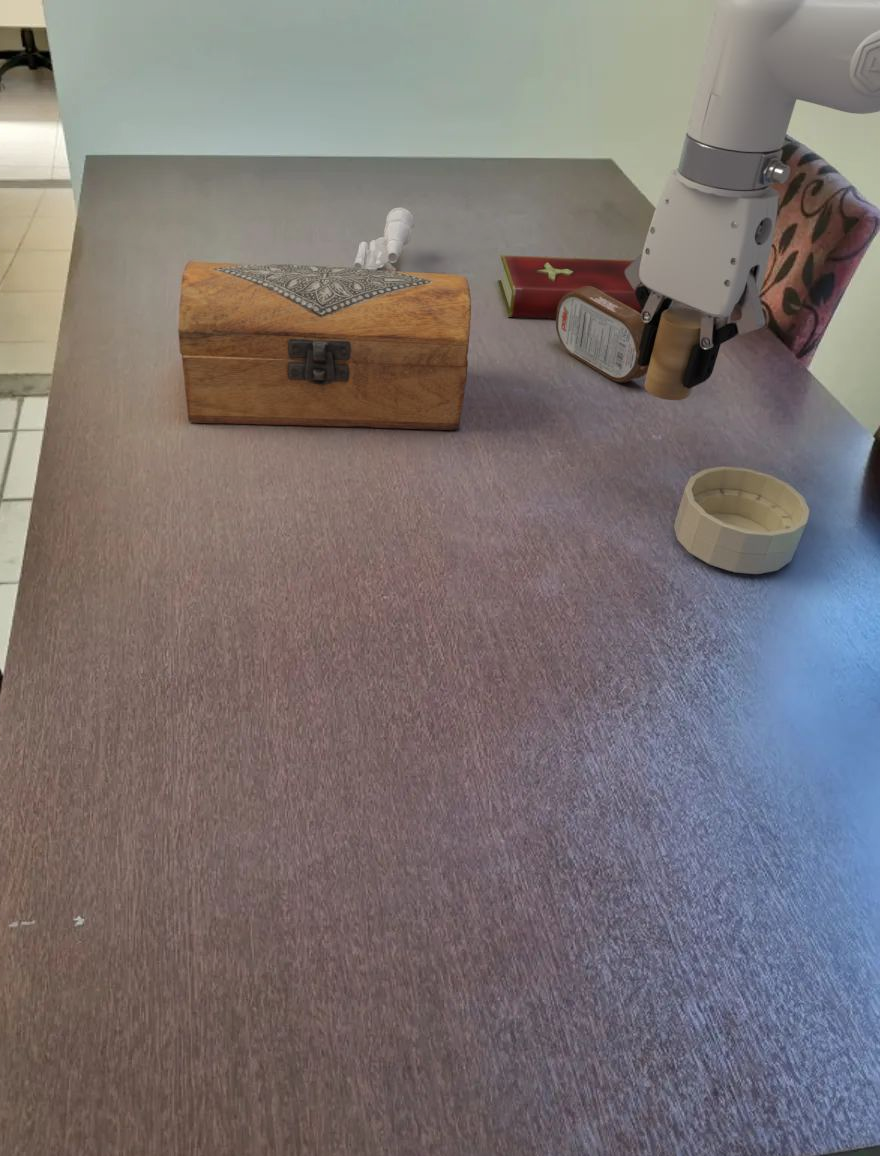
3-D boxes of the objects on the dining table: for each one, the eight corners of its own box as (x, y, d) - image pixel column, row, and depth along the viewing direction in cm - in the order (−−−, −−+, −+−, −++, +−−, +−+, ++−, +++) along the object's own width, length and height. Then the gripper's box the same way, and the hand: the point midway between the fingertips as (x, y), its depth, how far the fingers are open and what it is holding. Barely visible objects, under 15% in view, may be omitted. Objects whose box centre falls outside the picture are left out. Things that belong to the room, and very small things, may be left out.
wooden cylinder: (700, 391, 92) (720, 320, 87) (672, 405, 89) (692, 332, 85) (662, 373, 94) (680, 303, 89) (634, 386, 92) (651, 314, 87)
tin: (648, 389, 116) (665, 322, 111) (629, 395, 115) (645, 327, 109) (565, 340, 125) (576, 275, 119) (546, 345, 124) (557, 279, 118)
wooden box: (182, 428, 104) (169, 301, 94) (204, 357, 116) (194, 239, 107) (462, 440, 105) (476, 316, 96) (454, 369, 117) (465, 253, 108)
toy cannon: (375, 300, 135) (348, 271, 132) (383, 263, 145) (359, 235, 143) (418, 263, 131) (391, 232, 129) (423, 227, 142) (398, 198, 139)
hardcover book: (663, 324, 130) (670, 293, 128) (508, 319, 129) (513, 287, 126) (642, 288, 139) (649, 258, 136) (497, 282, 138) (501, 252, 135)
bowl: (813, 549, 94) (832, 505, 90) (748, 594, 88) (766, 550, 84) (716, 496, 99) (730, 454, 96) (649, 535, 94) (662, 492, 90)
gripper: (845, 185, 76) (771, 397, 88) (670, 131, 85) (625, 330, 97) (794, 202, 72) (724, 422, 84) (616, 143, 81) (576, 349, 93)
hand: (672, 370), depth 91 cm, fingers closed on wooden cylinder, 4 cm apart
